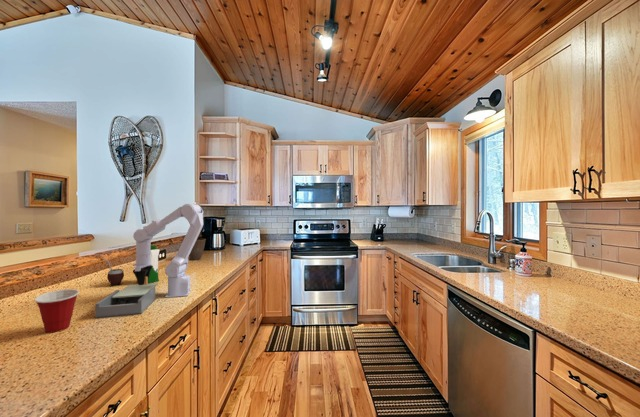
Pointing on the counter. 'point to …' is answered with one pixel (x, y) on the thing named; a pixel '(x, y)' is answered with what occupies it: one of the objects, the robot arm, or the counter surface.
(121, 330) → the counter surface
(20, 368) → the counter surface
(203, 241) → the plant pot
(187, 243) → the robot arm
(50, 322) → the plastic cup
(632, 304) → the counter surface
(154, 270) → the milk carton
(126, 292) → the lid
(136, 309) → the parts tub
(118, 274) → the mate gourd
